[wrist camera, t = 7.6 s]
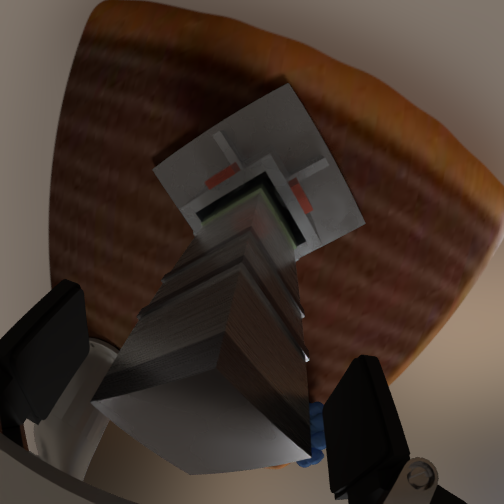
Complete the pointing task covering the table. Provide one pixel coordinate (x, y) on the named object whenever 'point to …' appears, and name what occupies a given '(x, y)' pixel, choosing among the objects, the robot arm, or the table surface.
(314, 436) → the blue lumpy cluster
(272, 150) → the stand base
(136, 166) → the table surface
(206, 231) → the column
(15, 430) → the robot arm
